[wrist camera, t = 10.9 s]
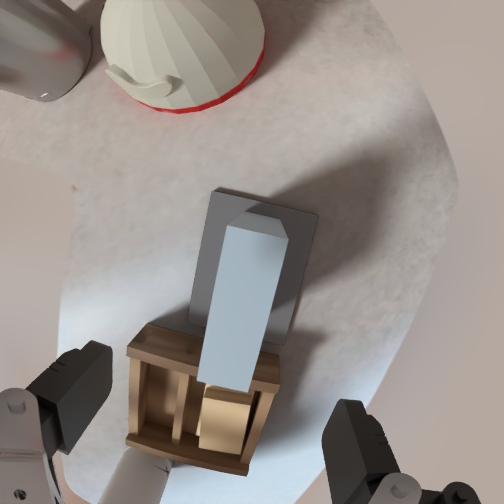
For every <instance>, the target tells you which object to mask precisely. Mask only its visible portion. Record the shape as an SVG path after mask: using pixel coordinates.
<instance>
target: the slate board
mask: <svg viewBox="0 0 504 504" xmlns="http://www.w3.org/2000/svg"><path fill="white" fill-rule="evenodd" d="M288 240H289V239H288V237H287V235H286V232H285V230H284V228H283V225H282V223H281V221H280V219H276V218H272V217H268V216H263V215H259V214H255V213H250V212H246V211H244V212H243V213H241V214H240V215H239V216H238V217H237V218H235V219H234V220H233V221H232V222H231V223H229V224H228V225H227V229H226V233H225V238H224V243H223V247H222V252H221V257H220V262H219V267H218V271H217V276H216V281H215V286H214V291H213V296H212V301H211V306H210V311H209V317H208V322H207V327H206V332H205V337H204V343H203V348H202V353H201V359H200V364H199V370H198V375H197V381H200V382H204V383H208V384H212V385H216V386H220V387H224V388H229V389H233V390H238V391H243V392H247V393H248V390H249V387H250V383H251V380H252V376H253V373H254V369H255V366H256V362H257V358H258V355H259V351H260V348H261V344H262V340H263V337H264V333H265V329H266V325H267V322H268V318H269V314H270V311H271V307H272V303H273V299H274V295H275V291H276V288H277V284H278V280H279V276H280V272H281V268H282V264H283V260H284V256H285V252H286V248H287V244H288Z"/></svg>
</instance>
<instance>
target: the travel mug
mask: <svg viewBox="0 0 504 504" xmlns="http://www.w3.org/2000/svg"><path fill="white" fill-rule="evenodd" d="M172 465H173V460H171V459H167V458H164V457H161V456H157V455H154V454H151V453H148V452H145V451H142V450H139V449H136V448H133V447H130V446H127V448H126V450H125V452H124V454H123V455H122V457H121V459H120V461H119V463H118V465H117V467H116V469H115V471H114V473H113V475H112V476H111V478H110V480H109V482H108V484H107V486H106V488H105V490H104V492H103V494H102V496H101V498H100V500H99V502H98V504H159V503H160V500H161V497H162V494H163V492H164V489H165V486H166V483H167V480H168V477H169V474H170V471H171V468H172Z"/></svg>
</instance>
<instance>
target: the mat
mask: <svg viewBox="0 0 504 504" xmlns="http://www.w3.org/2000/svg"><path fill="white" fill-rule="evenodd" d="M244 211H246V212H250V213H255V214H259V215H263V216H268V217H272V218H276V219H280V221H281V223H282V225H283V228H284V230H285V232H286V235H287V237H288V239H289V240H288V244H287V248H286V252H285V256H284V260H283V264H282V268H281V272H280V276H279V280H278V284H277V288H276V291H275V295H274V299H273V303H272V307H271V311H270V314H269V318H268V322H267V325H266V329H265V333H264V337H263V340H262V341H265V342H270V343H274V344H279V345H283V344H284V341H285V338H286V334H287V331H288V327H289V324H290V321H291V317H292V314H293V310H294V307H295V303H296V300H297V296H298V293H299V289H300V285H301V282H302V278H303V274H304V271H305V267H306V263H307V260H308V256H309V252H310V248H311V244H312V240H313V236H314V232H315V228H316V224H317V220H318V215H315V214H311V213H307V212H303V211H299V210H295V209H291V208H287V207H283V206H279V205H274V204H270V203H266V202H261V201H257V200H253V199H248V198H244V197H239V196H235V195H230V194H225V193H221V192H216V191H212V193H211V197H210V202H209V207H208V212H207V216H206V221H205V226H204V231H203V236H202V241H201V246H200V252H199V257H198V262H197V267H196V273H195V278H194V284H193V289H192V295H191V301H190V307H189V313H188V319H187V323H189V324H193V325H197V326H201V327H205V328H206V327H207V322H208V317H209V311H210V306H211V301H212V296H213V291H214V286H215V281H216V276H217V271H218V267H219V262H220V257H221V252H222V247H223V243H224V238H225V233H226V229H227V225H228V224H229V223H231V222H232V221H233V220H234V219H235V218H237V217H238V216H239V215H240V214H241V213H243V212H244Z"/></svg>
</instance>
